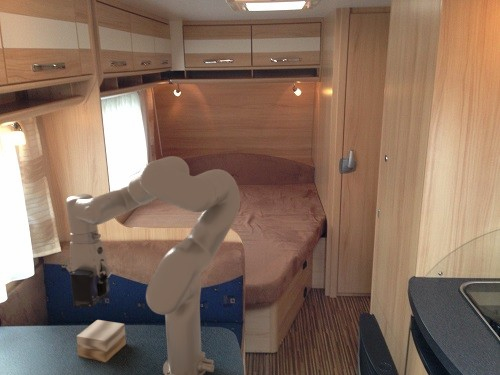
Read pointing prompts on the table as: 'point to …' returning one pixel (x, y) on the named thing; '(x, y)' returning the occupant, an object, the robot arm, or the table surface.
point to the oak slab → (101, 355)
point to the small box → (86, 288)
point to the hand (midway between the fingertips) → (92, 292)
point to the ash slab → (101, 335)
